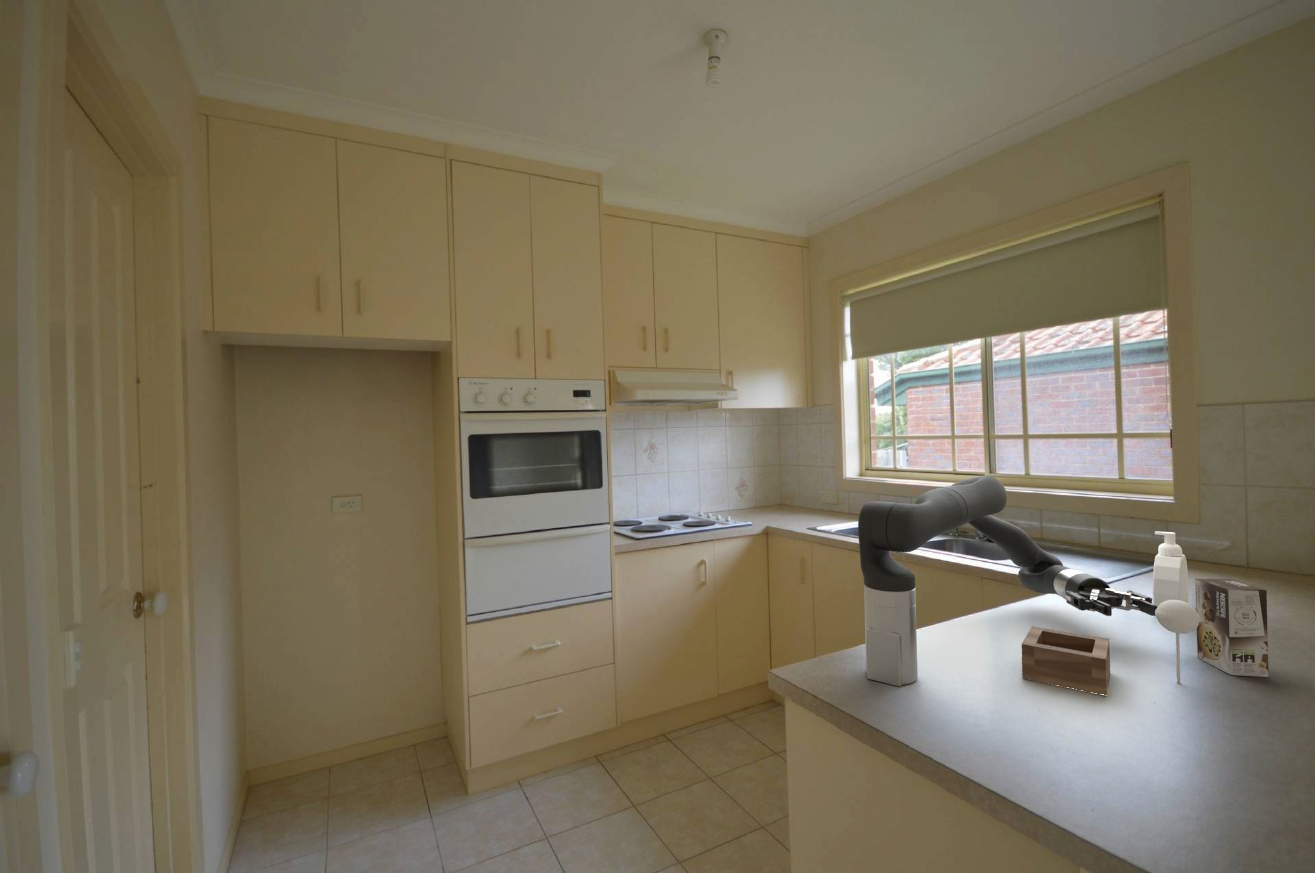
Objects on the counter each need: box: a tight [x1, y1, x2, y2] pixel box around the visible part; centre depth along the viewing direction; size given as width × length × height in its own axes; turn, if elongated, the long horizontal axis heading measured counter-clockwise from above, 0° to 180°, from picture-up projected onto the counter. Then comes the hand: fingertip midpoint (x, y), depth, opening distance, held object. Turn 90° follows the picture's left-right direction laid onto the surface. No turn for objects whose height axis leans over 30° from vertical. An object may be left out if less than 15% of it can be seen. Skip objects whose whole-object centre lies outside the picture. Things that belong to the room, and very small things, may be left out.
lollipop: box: [1155, 600, 1200, 684], centre depth 106 cm, size 6×6×15 cm
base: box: [1021, 625, 1111, 696], centre depth 110 cm, size 12×12×6 cm
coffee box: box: [1194, 578, 1270, 678], centre depth 112 cm, size 9×6×16 cm
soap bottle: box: [1152, 530, 1189, 607], centre depth 145 cm, size 16×5×20 cm, turn 133°
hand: (1132, 611), depth 117 cm, fingers open, 8 cm apart
